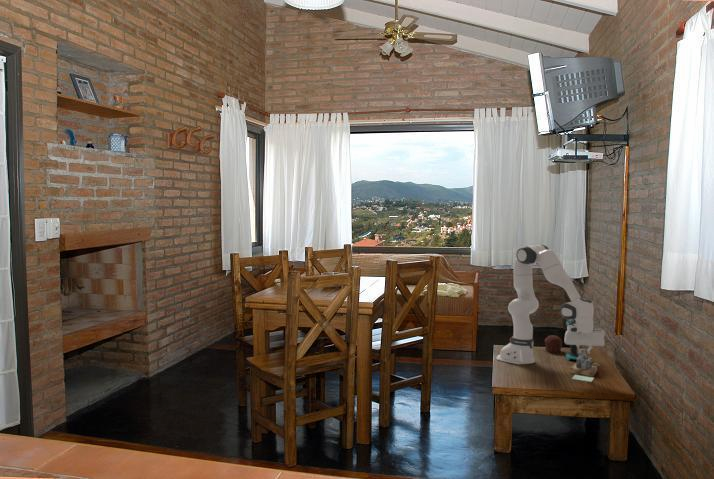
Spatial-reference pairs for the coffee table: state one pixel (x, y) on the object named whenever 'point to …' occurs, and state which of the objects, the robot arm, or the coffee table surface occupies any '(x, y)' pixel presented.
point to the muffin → (553, 344)
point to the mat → (583, 378)
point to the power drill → (573, 350)
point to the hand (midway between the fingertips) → (584, 353)
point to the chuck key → (583, 358)
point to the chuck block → (589, 369)
